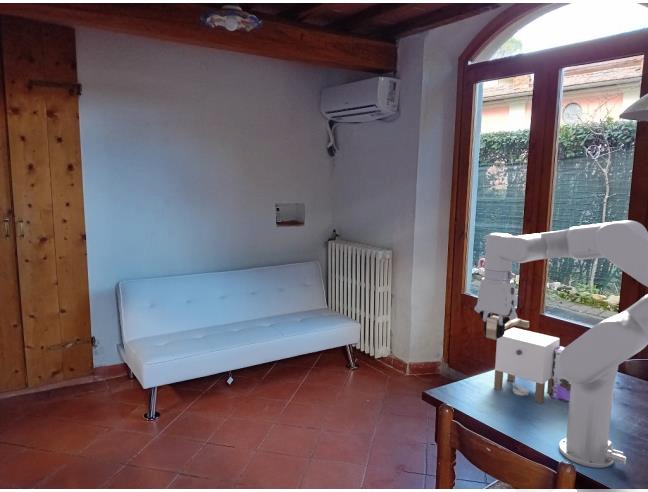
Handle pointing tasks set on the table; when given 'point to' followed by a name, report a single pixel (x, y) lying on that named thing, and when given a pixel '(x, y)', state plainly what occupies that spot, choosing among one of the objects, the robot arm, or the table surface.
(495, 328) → the wooden mallet
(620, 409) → the table surface
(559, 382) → the candy box
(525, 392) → the token
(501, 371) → the cabinet
